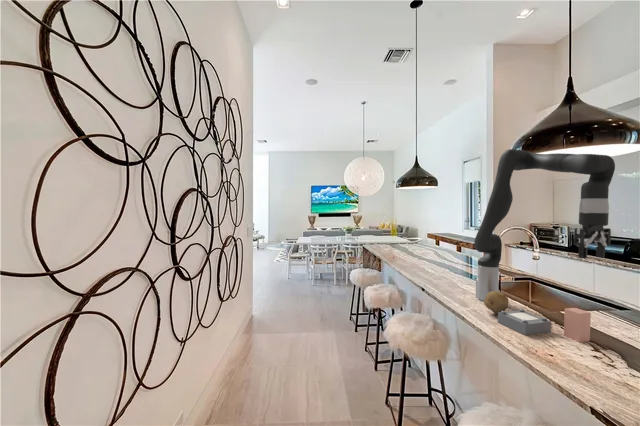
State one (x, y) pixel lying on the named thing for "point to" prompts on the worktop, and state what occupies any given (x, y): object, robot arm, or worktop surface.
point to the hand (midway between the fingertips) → (591, 257)
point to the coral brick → (577, 324)
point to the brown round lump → (496, 301)
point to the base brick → (524, 322)
